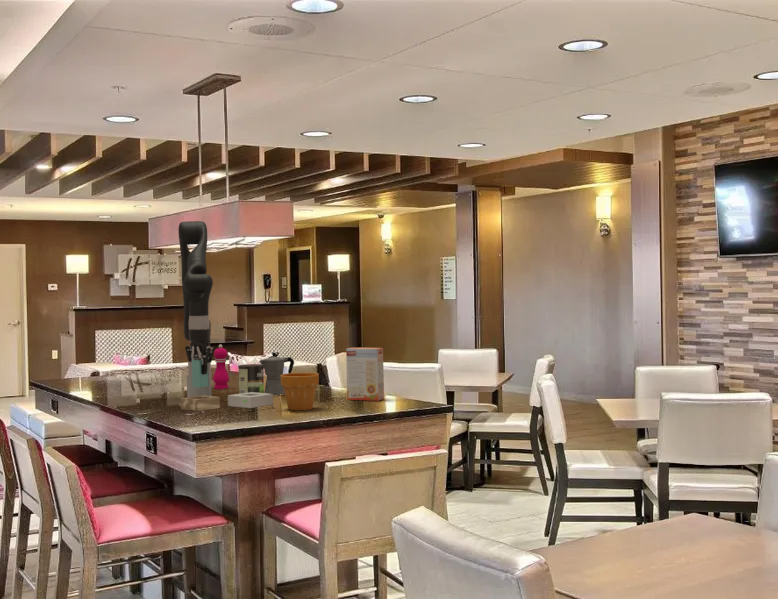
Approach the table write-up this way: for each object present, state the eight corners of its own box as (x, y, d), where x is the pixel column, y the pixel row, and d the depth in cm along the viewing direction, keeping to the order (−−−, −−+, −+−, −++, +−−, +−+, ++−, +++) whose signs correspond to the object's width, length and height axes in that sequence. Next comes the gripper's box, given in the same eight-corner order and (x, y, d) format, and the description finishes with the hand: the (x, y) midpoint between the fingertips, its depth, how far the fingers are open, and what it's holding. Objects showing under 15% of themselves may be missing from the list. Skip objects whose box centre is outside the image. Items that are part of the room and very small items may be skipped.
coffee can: (267, 398, 374) (267, 364, 374) (259, 401, 364) (258, 366, 364) (244, 398, 376) (243, 363, 376) (234, 401, 366) (234, 366, 366)
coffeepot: (262, 396, 379) (261, 353, 379) (256, 394, 388) (255, 352, 388) (298, 394, 385) (297, 352, 385) (291, 392, 394) (290, 350, 394)
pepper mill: (232, 387, 415) (231, 344, 415) (224, 389, 409) (223, 345, 408) (218, 387, 418) (217, 343, 417) (210, 389, 411) (209, 344, 411)
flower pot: (303, 412, 329) (303, 376, 329) (273, 410, 337) (272, 375, 337) (326, 408, 341) (326, 373, 341) (296, 405, 349) (296, 372, 349)
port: (227, 408, 344) (226, 395, 344) (251, 405, 353) (250, 392, 353) (249, 410, 336) (249, 397, 336) (273, 407, 346) (273, 393, 346)
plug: (192, 386, 338) (191, 357, 338) (200, 385, 341) (200, 356, 341) (199, 387, 336) (199, 358, 335) (207, 386, 339) (207, 357, 339)
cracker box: (384, 399, 364) (383, 347, 363) (378, 401, 358) (377, 348, 358) (353, 398, 370) (352, 346, 369) (346, 400, 364) (345, 347, 364)
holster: (181, 411, 337) (180, 398, 337) (201, 408, 345) (201, 395, 345) (199, 413, 331) (198, 399, 331) (219, 410, 339) (219, 396, 339)
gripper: (178, 327, 339) (179, 373, 340) (204, 329, 330) (205, 376, 331) (194, 326, 345) (195, 372, 346) (219, 327, 336) (220, 374, 337)
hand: (200, 373), depth 338 cm, fingers closed on plug, 4 cm apart
